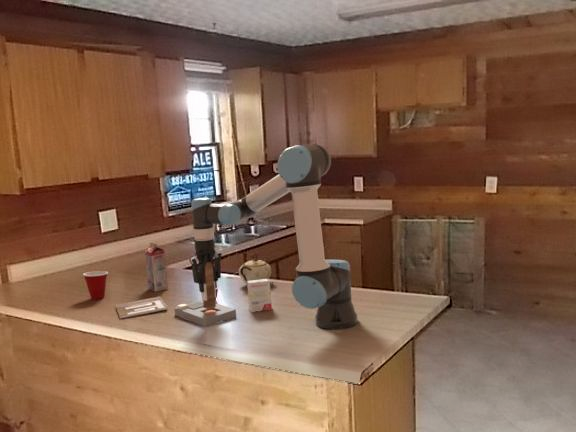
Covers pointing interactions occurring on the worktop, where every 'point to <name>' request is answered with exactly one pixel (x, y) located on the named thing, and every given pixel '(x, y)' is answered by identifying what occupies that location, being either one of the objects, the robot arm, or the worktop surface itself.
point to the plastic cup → (96, 283)
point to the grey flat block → (198, 315)
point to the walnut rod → (209, 287)
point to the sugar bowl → (255, 269)
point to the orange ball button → (210, 311)
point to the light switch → (143, 303)
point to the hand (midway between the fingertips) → (209, 298)
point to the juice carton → (156, 268)
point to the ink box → (259, 295)
